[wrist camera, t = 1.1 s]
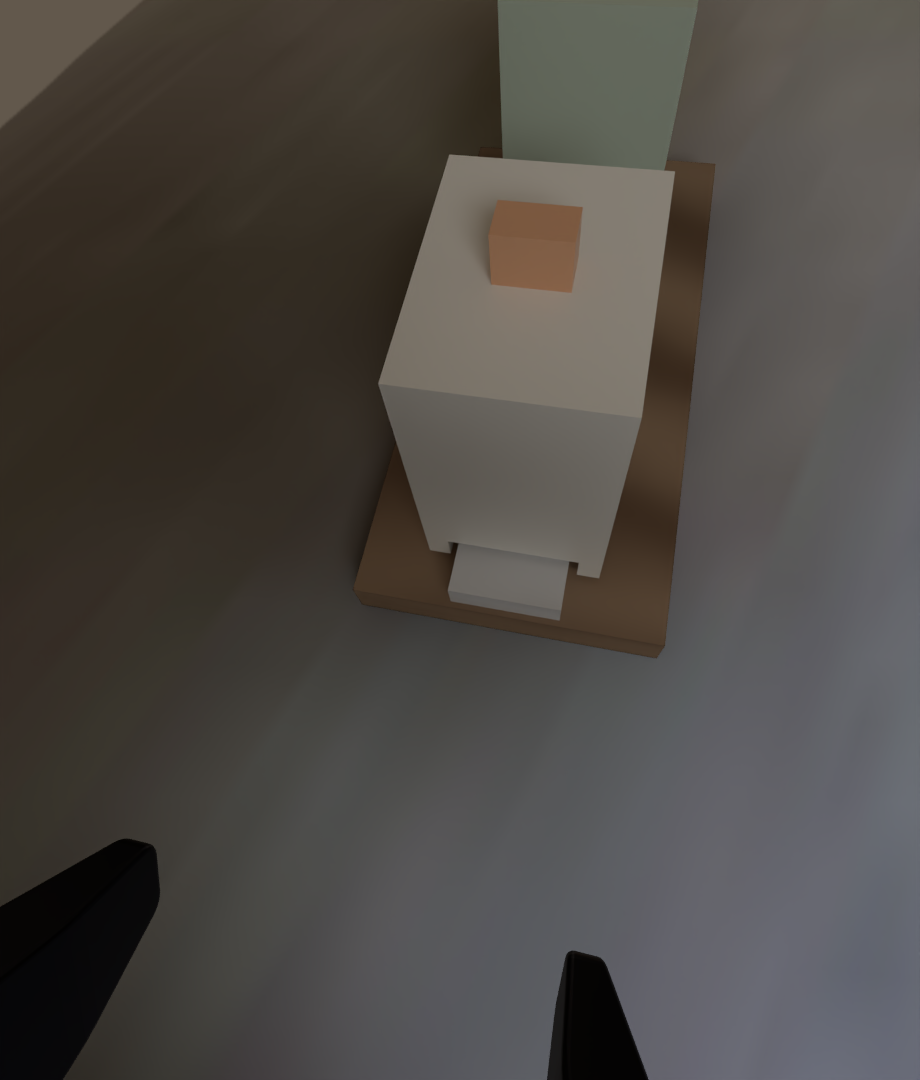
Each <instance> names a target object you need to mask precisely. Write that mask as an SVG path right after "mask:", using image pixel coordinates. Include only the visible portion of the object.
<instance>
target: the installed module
mask: <svg viewBox="0 0 920 1080" xmlns="http://www.w3.org/2000/svg"><path fill="white" fill-rule="evenodd" d="M697 7H698V0H498V26H499V57H500V88H501V118H502V149H503V159H516V160H529V161H542V162H556V163H569V164H583V165H596V166H609V167H623V168H636V169H650V170H663V171H664V170H665V165H666V160H667V155H668V150H669V145H670V140H671V135H672V130H673V125H674V120H675V115H676V110H677V106H678V101H679V96H680V91H681V86H682V81H683V76H684V71H685V66H686V61H687V56H688V51H689V46H690V42H691V37H692V32H693V27H694V22H695V17H696V12H697Z"/></svg>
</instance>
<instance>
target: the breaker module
mask: <svg viewBox="0 0 920 1080" xmlns="http://www.w3.org/2000/svg"><path fill="white" fill-rule="evenodd" d="M674 176H675V171H663V170H650V169H636V168H623V167H609V166H596V165H583V164H569V163H556V162H542V161H529V160H516V159H502V158H489V157H476V156H462V155H449V158H448V161H447V164H446V168H445V171H444V174H443V177H442V180H441V184H440V187H439V190H438V193H437V196H436V200H435V203H434V206H433V209H432V213H431V216H430V219H429V222H428V225H427V229H426V232H425V235H424V238H423V241H422V245H421V248H420V251H419V254H418V258H417V261H416V264H415V267H414V270H413V274H412V277H411V280H410V283H409V286H408V290H407V293H406V296H405V299H404V302H403V306H402V309H401V312H400V315H399V319H398V322H397V325H396V328H395V331H394V335H393V338H392V341H391V344H390V347H389V351H388V354H387V357H386V360H385V363H384V367H383V370H382V373H381V376H380V380H379V383H378V385H379V388H380V391H381V394H382V398H383V401H384V404H385V407H386V410H387V414H388V417H389V420H390V423H391V427H392V430H393V433H394V436H395V439H396V443H397V446H398V449H399V452H400V455H401V459H402V462H403V465H404V468H405V471H406V475H407V478H408V481H409V484H410V487H411V491H412V494H413V497H414V500H415V503H416V507H417V510H418V513H419V516H420V519H421V523H422V526H423V529H424V532H425V535H426V539H427V542H428V545H429V548H430V550H432V551H438V552H444V553H450V554H451V551H452V547H453V542H455V543H462V544H468V545H474V546H480V547H486V548H492V549H498V550H504V551H510V552H516V553H522V554H528V555H534V556H540V557H546V558H553V559H559V560H565V561H571V562H577V563H579V564H578V570H577V575H581V576H587V577H593V578H599V577H600V573H601V569H602V565H603V562H604V558H605V554H606V550H607V547H608V543H609V539H610V535H611V532H612V528H613V524H614V520H615V517H616V513H617V509H618V505H619V502H620V498H621V494H622V490H623V487H624V483H625V479H626V475H627V471H628V468H629V464H630V460H631V456H632V453H633V449H634V445H635V441H636V438H637V434H638V430H639V426H640V423H641V419H642V412H643V405H644V398H645V390H646V383H647V375H648V368H649V361H650V353H651V346H652V338H653V331H654V324H655V316H656V309H657V301H658V294H659V287H660V279H661V272H662V264H663V257H664V250H665V242H666V235H667V228H668V220H669V213H670V205H671V198H672V191H673V183H674Z"/></svg>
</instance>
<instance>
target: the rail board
mask: <svg viewBox="0 0 920 1080" xmlns="http://www.w3.org/2000/svg"><path fill="white" fill-rule="evenodd" d="M478 157H489V158H502V159H503V149H502V148H489V147H481V148H480V152H479V155H478ZM664 171H675V176H674V183H673V191H672V198H671V205H670V213H669V220H668V228H667V235H666V242H665V250H664V257H663V264H662V272H661V279H660V287H659V294H658V301H657V309H656V316H655V324H654V331H653V338H652V346H651V353H650V361H649V368H648V375H647V383H646V390H645V398H644V405H643V412H642V419H641V423H640V426H639V430H638V434H637V438H636V441H635V445H634V449H633V453H632V456H631V460H630V464H629V468H628V471H627V475H626V479H625V483H624V487H623V490H622V494H621V498H620V502H619V505H618V509H617V513H616V517H615V520H614V524H613V528H612V532H611V535H610V539H609V543H608V547H607V550H606V554H605V558H604V562H603V565H602V569H601V573H600V577H599V578H593V577H587V576H581V575H577V570H578V564H579V563H577V562H571V561H565V560H559V559H553V558H546V557H540V556H534V555H528V554H522V553H516V552H510V551H504V550H498V549H492V548H486V547H480V546H474V545H468V544H462V543H455V542H453V547H452V551H451V554H450V553H444V552H438V551H432V550H430V548H429V545H428V542H427V539H426V535H425V532H424V529H423V526H422V523H421V519H420V516H419V513H418V510H417V507H416V503H415V500H414V497H413V494H412V491H411V487H410V484H409V481H408V478H407V475H406V471H405V468H404V465H403V462H402V459H401V455H400V452H399V449H398V446H397V443H396V442H395V446H394V449H393V453H392V456H391V460H390V463H389V466H388V470H387V473H386V477H385V480H384V484H383V487H382V491H381V494H380V498H379V501H378V505H377V508H376V511H375V515H374V518H373V522H372V525H371V529H370V532H369V536H368V539H367V543H366V546H365V550H364V553H363V556H362V560H361V563H360V567H359V570H358V574H357V577H356V581H355V584H354V588H353V591H354V592H355V594H356V595H357V597H358V598H359V600H360V601H361V603H362V604H363V605H368V606H374V607H379V608H385V609H390V610H396V611H401V612H407V613H412V614H418V615H423V616H429V617H434V618H439V619H445V620H450V621H456V622H461V623H467V624H472V625H478V626H483V627H489V628H494V629H499V630H505V631H510V632H516V633H521V634H527V635H532V636H538V637H543V638H549V639H554V640H560V641H565V642H570V643H576V644H581V645H587V646H592V647H598V648H603V649H609V650H614V651H620V652H625V653H631V654H636V655H641V656H647V657H652V658H657V657H658V655H659V654H660V652H661V651H662V649H663V648H664V646H665V639H666V630H667V620H668V611H669V601H670V592H671V582H672V573H673V563H674V553H675V544H676V534H677V525H678V515H679V506H680V496H681V487H682V477H683V468H684V458H685V449H686V439H687V430H688V420H689V411H690V401H691V392H692V382H693V373H694V363H695V354H696V344H697V335H698V325H699V316H700V306H701V297H702V287H703V278H704V268H705V259H706V249H707V240H708V230H709V221H710V211H711V202H712V192H713V182H714V173H715V164H710V163H696V162H682V161H668V160H666V165H665V170H664Z"/></svg>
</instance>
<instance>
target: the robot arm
mask: <svg viewBox="0 0 920 1080" xmlns="http://www.w3.org/2000/svg"><path fill="white" fill-rule="evenodd" d="M159 897H160V885H159V874H158V864H157V853H156V850H155V848H154V847H153V845H151V844H148V843H144V842H140V841H136V840H132V839H121V840H118V841H116V842H114V843H112V844H110V845H108V846H107V847H105V848H103V849H101V850H100V851H98V852H96V853H94V854H93V855H91V856H89V857H87V858H85V859H84V860H82V861H80V862H78V863H77V864H75V865H73V866H71V867H70V868H68V869H66V870H64V871H63V872H61V873H59V874H57V875H55V876H54V877H52V878H50V879H48V880H47V881H45V882H43V883H41V884H40V885H38V886H36V887H34V888H33V889H31V890H29V891H27V892H25V893H24V894H22V895H20V896H18V897H17V898H15V899H13V900H11V901H10V902H8V903H6V904H4V905H3V906H1V907H0V1080H63V1078H64V1077H65V1075H66V1074H67V1072H68V1070H69V1069H70V1067H71V1066H72V1064H73V1063H74V1061H75V1059H76V1058H77V1056H78V1055H79V1053H80V1051H81V1050H82V1048H83V1046H84V1045H85V1043H86V1042H87V1040H88V1038H89V1036H90V1034H91V1033H92V1031H93V1029H94V1027H95V1025H96V1024H97V1022H98V1020H99V1018H100V1016H101V1014H102V1012H103V1010H104V1009H105V1007H106V1005H107V1003H108V1001H109V999H110V997H111V995H112V993H113V991H114V989H115V988H116V986H117V984H118V982H119V980H120V978H121V976H122V974H123V972H124V970H125V969H126V967H127V965H128V963H129V961H130V959H131V957H132V955H133V953H134V951H135V950H136V948H137V946H138V944H139V942H140V940H141V938H142V936H143V934H144V932H145V930H146V929H147V927H148V925H149V923H150V921H151V919H152V917H153V915H154V913H155V911H156V908H157V906H158V902H159ZM547 1080H649V1079H648V1077H647V1074H646V1071H645V1069H644V1066H643V1063H642V1060H641V1058H640V1055H639V1052H638V1050H637V1047H636V1044H635V1041H634V1039H633V1036H632V1033H631V1031H630V1028H629V1025H628V1022H627V1020H626V1017H625V1014H624V1012H623V1009H622V1006H621V1003H620V1001H619V998H618V995H617V993H616V990H615V987H614V984H613V982H612V979H611V976H610V974H609V971H608V968H607V966H606V964H605V962H604V961H603V960H602V959H601V958H600V957H597V956H593V955H589V954H585V953H581V952H577V951H570V952H568V953H567V955H566V958H565V962H564V967H563V972H562V977H561V982H560V986H559V991H558V996H557V1001H556V1008H555V1015H554V1023H553V1032H552V1040H551V1049H550V1058H549V1067H548V1076H547Z"/></svg>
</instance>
